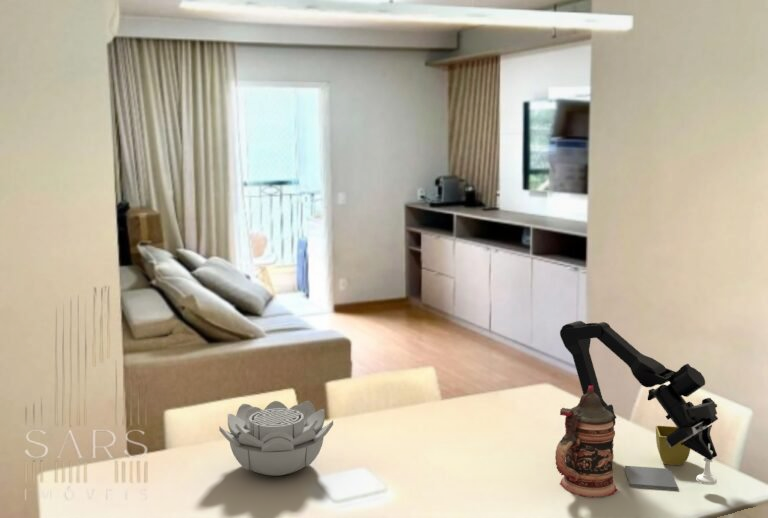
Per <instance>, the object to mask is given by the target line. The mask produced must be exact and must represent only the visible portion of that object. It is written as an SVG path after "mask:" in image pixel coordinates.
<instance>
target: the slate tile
mask: <svg viewBox="0 0 768 518" xmlns="http://www.w3.org/2000/svg"><path fill="white" fill-rule="evenodd" d="M624 472H625V475H626V478H627V483H628V487H630V488H645V489H657V490H670V491H671V490H673V491H678V490H679V487H678V484H677V482H676V480H675V477H674V474H673V472H672V470H671V468H663V467H652V466H651V467H650V466H637V465H635V466H634V465H624Z"/></svg>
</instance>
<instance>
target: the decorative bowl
mask: <svg viewBox="0 0 768 518" xmlns="http://www.w3.org/2000/svg"><path fill="white" fill-rule="evenodd" d="M324 423H325V408H321V409H318V410H317V411H316V408H315V406H314V404H313V403H312V402H311V401H309V400H305V401H301V403H299V404H294V405H293V406H291V407H290V408H288V407H287V406H286V405H285V404H284V403H283V402H281V401H279V400H274V401H272V402H269V404H267V406H266V407H265V408H264V409H261V408H260V407H257V406H252V405H251V404H248V403H242V404H241V405H239V407H238V409H237V410H236V415H235V414H233V413H227V428H228V430H229V431H227V430H225V429H223V427H221V426H220V425H219V427H218V428H219V431H218V432H220V433H221V435H222V436H223V437H224V438H225V440H227V441H228V442H229V447H230V449H231V452H232V455H233V456H234V458H235V459H236V461H237V462H238V464H239V465H241V466H242V467H243V469H246V470H247V471H249V470H250V471H253V472H254V473H255V472H256V473H257V474H259V475H260V474H261V475H265V476H283V475H289V474H293V473H296V472H297V471H299V470H301V469H303V468H304V467H309V466H310V465H311V464H312V463H313V462H314V461H315V459H316V458H317V457H318V455H319V454H320V451H321V449H322V447H323V443H324V438H325V436H326V435H327V434H328V433H329V431H330V430H331V429H332V427H333V426H334V419H332V421H330V422H329V423H328V424H327V425H325V426H324Z"/></svg>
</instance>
